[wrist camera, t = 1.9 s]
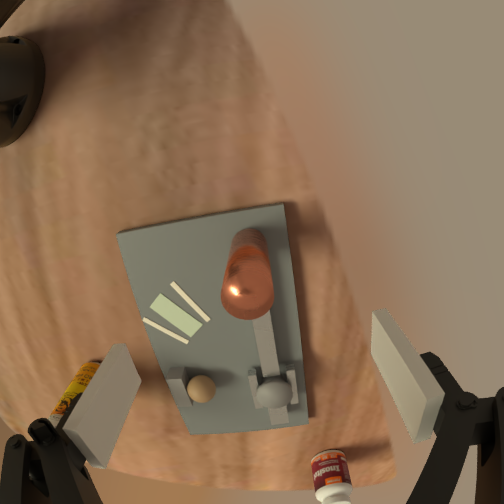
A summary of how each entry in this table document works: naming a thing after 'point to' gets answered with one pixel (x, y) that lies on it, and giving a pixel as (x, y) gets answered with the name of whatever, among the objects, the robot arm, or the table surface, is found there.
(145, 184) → the table surface
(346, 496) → the pill bottle
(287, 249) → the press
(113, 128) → the table surface
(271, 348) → the lever
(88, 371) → the beer can
